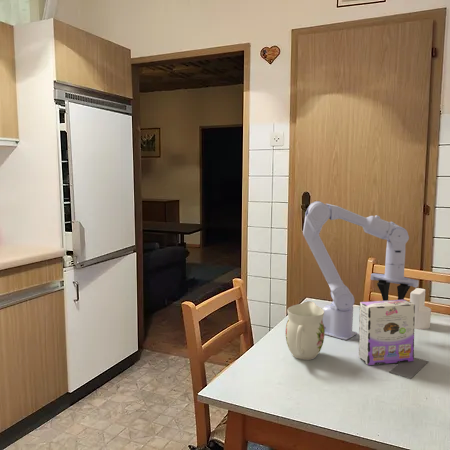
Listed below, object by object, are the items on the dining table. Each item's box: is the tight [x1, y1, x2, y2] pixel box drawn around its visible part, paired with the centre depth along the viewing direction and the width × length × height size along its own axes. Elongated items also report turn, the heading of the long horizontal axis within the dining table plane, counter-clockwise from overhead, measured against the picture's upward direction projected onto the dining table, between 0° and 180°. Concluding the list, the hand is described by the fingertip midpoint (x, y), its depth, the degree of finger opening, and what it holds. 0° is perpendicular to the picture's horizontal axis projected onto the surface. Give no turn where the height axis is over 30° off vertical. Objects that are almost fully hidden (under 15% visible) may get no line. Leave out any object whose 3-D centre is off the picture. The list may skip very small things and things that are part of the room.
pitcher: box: [285, 300, 325, 361], centre depth 129 cm, size 11×18×14 cm, turn 160°
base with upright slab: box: [409, 287, 432, 330], centre depth 158 cm, size 9×9×12 cm
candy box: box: [358, 298, 415, 366], centre depth 127 cm, size 14×6×16 cm, turn 99°
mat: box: [388, 356, 429, 380], centre depth 123 cm, size 6×14×1 cm, turn 139°
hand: (392, 305), depth 145 cm, fingers open, 4 cm apart
